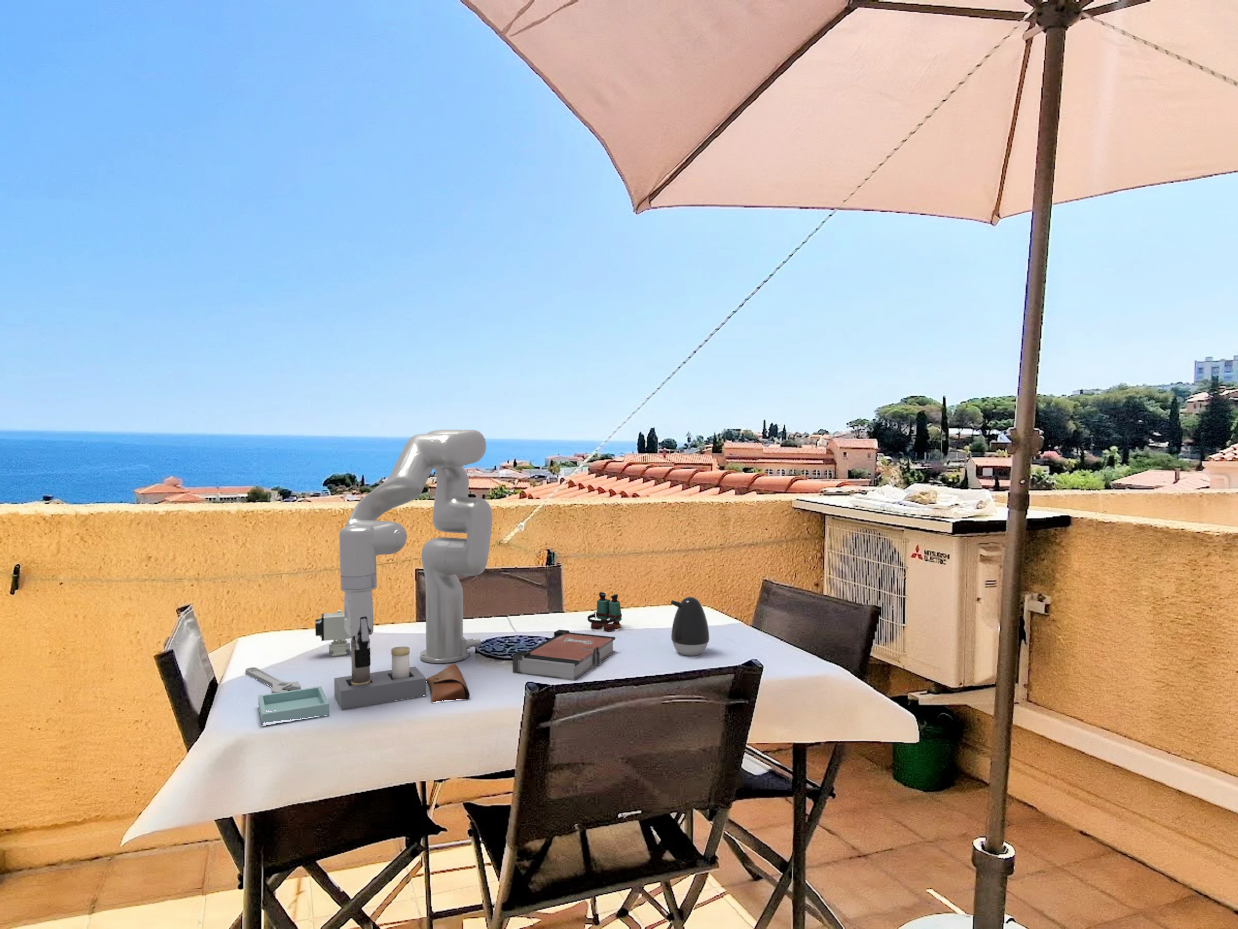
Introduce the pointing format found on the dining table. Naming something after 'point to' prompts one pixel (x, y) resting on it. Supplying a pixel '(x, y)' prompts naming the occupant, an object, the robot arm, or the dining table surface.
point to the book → (564, 655)
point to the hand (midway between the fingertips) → (360, 663)
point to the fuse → (400, 662)
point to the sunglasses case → (448, 685)
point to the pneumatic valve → (333, 632)
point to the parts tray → (293, 704)
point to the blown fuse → (358, 669)
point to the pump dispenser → (689, 627)
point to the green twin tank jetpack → (606, 613)
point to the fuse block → (379, 689)
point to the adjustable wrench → (272, 681)
